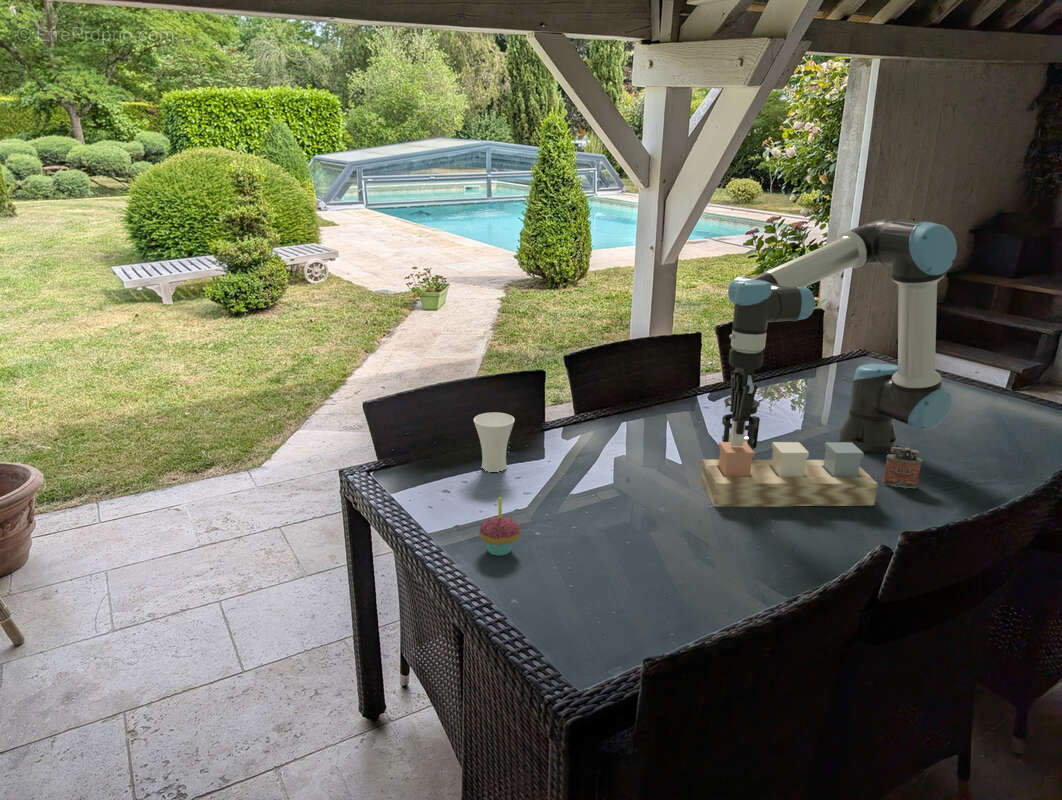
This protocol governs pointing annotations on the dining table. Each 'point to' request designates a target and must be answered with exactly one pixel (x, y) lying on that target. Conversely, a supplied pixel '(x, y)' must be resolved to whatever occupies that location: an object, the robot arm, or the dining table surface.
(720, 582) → the dining table surface
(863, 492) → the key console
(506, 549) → the cupcake
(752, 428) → the french press
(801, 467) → the cream key
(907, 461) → the lighter
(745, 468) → the terracotta key
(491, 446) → the cup
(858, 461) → the slate key
